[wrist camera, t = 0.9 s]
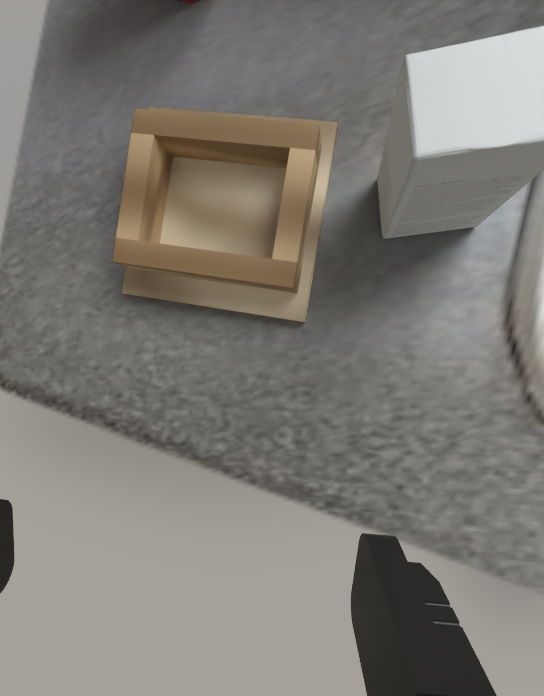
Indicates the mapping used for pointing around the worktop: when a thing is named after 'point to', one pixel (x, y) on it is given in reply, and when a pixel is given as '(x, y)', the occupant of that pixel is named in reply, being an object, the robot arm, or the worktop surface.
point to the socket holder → (224, 209)
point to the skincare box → (462, 133)
